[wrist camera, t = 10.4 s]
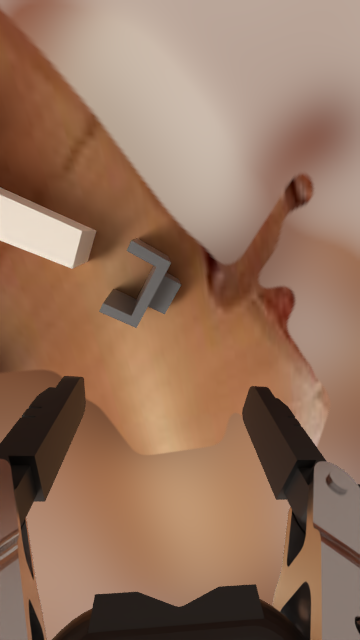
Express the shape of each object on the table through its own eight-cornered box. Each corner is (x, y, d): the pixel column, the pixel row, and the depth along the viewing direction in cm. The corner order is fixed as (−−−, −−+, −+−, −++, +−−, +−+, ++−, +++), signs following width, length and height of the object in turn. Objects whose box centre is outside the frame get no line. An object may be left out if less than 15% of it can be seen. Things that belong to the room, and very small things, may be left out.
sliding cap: (110, 295, 25) (99, 311, 20) (136, 238, 23) (131, 240, 18) (157, 317, 27) (157, 337, 22) (186, 266, 25) (193, 275, 20)
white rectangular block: (-56, 202, 20) (-117, 194, 16) (-55, 162, 19) (-120, 141, 14) (88, 261, 24) (72, 268, 19) (97, 230, 23) (82, 231, 18)
